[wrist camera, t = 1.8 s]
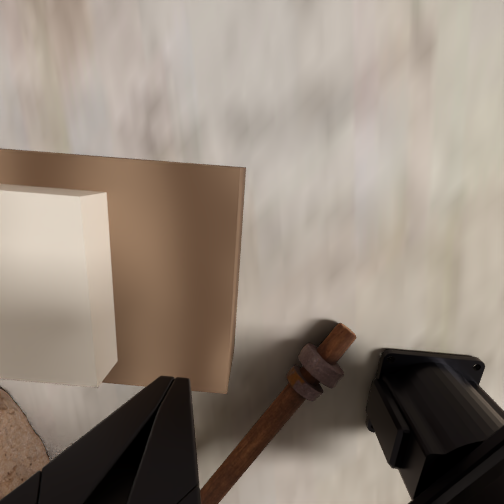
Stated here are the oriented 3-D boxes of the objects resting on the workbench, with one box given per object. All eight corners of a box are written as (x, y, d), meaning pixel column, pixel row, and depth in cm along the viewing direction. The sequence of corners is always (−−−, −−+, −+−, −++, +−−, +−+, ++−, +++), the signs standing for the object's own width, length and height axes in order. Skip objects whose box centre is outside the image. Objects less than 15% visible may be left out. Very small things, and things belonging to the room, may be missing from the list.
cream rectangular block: (106, 192, 13) (79, 196, 11) (117, 361, 16) (97, 387, 14) (-23, 181, 13) (-71, 184, 12) (8, 350, 16) (-26, 376, 14)
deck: (245, 167, 17) (240, 168, 13) (233, 350, 20) (226, 393, 16) (-31, 146, 17) (-118, 140, 13) (3, 329, 20) (-57, 367, 16)
